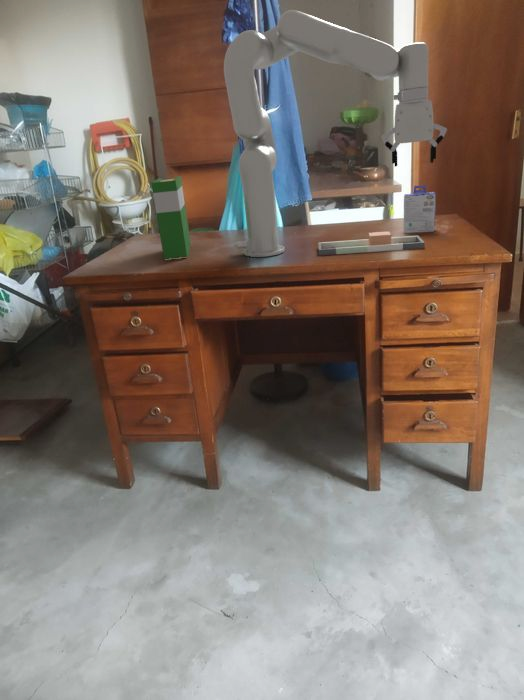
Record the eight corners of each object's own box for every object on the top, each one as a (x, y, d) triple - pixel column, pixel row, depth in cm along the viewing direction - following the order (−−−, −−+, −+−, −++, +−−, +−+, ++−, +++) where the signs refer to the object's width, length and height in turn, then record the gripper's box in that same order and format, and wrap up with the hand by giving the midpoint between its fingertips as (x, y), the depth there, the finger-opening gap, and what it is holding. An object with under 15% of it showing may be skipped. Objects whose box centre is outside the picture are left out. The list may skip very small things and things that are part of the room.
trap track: (318, 256, 151) (318, 249, 150) (318, 249, 160) (318, 242, 159) (424, 249, 147) (424, 242, 147) (418, 242, 156) (418, 235, 156)
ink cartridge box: (434, 229, 172) (435, 184, 166) (435, 232, 167) (436, 186, 161) (403, 230, 174) (404, 186, 169) (403, 234, 170) (404, 188, 164)
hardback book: (170, 249, 182) (158, 178, 172) (191, 247, 182) (180, 176, 172) (164, 260, 165) (151, 182, 156) (187, 258, 165) (175, 180, 156)
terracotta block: (370, 249, 151) (370, 236, 150) (368, 246, 156) (368, 232, 154) (391, 248, 151) (391, 234, 149) (388, 244, 155) (388, 231, 154)
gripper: (380, 100, 137) (381, 168, 143) (449, 91, 132) (447, 161, 139) (380, 101, 143) (382, 166, 150) (446, 92, 139) (445, 159, 146)
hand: (413, 164), depth 144 cm, fingers open, 9 cm apart
